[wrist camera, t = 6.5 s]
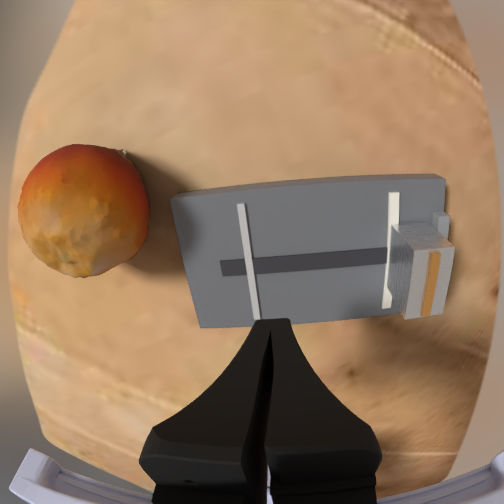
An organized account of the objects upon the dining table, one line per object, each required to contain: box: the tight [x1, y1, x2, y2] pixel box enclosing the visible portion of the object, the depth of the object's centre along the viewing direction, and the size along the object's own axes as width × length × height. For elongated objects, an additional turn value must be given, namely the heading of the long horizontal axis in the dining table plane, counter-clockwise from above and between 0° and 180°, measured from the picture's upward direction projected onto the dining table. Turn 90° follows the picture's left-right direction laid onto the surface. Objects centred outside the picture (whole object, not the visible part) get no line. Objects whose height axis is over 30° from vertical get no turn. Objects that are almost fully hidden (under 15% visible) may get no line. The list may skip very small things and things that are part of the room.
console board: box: [170, 174, 450, 328], centre depth 18 cm, size 9×16×2 cm, turn 97°
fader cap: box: [387, 222, 455, 320], centre depth 15 cm, size 4×2×4 cm, turn 7°
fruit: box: [18, 144, 149, 278], centre depth 16 cm, size 8×8×8 cm
